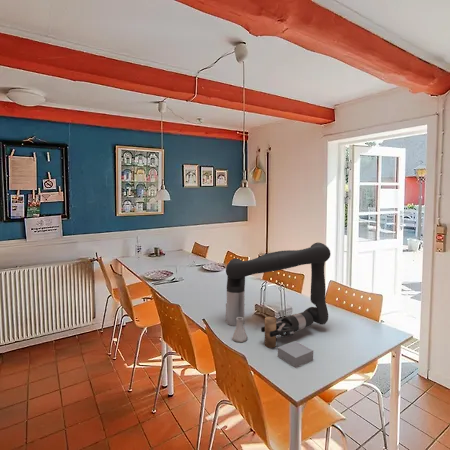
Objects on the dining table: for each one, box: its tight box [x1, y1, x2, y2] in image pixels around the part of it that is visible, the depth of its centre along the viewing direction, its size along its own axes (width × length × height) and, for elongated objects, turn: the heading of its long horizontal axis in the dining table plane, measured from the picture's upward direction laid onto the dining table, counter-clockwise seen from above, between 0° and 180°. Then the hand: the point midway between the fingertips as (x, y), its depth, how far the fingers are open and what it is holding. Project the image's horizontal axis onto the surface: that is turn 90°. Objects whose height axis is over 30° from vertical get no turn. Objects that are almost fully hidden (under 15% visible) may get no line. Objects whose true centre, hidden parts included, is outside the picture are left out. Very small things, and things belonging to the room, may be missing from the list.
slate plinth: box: [277, 340, 314, 369], centre depth 127 cm, size 10×10×4 cm
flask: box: [231, 317, 249, 343], centre depth 144 cm, size 7×7×10 cm
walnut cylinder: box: [264, 316, 277, 349], centre depth 138 cm, size 5×5×12 cm
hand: (266, 332), depth 137 cm, fingers closed on walnut cylinder, 5 cm apart
